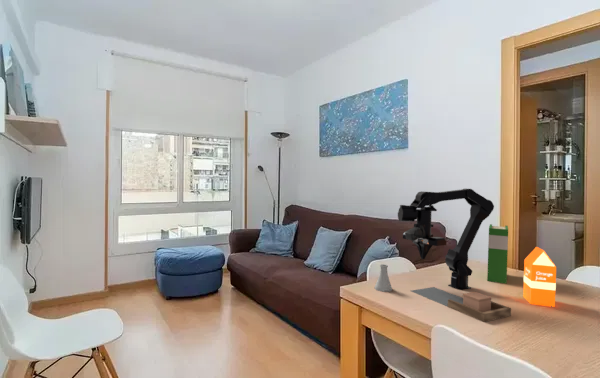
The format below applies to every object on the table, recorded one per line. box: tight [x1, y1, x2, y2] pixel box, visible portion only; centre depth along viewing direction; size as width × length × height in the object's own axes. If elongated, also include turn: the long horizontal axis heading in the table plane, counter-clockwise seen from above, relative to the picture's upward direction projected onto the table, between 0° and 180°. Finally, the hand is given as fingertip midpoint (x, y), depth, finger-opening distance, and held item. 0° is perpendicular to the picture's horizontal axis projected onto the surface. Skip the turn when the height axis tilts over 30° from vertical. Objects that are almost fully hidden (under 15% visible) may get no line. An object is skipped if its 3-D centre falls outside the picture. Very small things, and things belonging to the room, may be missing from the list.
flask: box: [374, 263, 393, 293], centre depth 135 cm, size 7×7×10 cm
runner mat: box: [410, 286, 484, 323], centre depth 121 cm, size 13×32×1 cm, turn 25°
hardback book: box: [486, 223, 509, 285], centre depth 155 cm, size 18×7×24 cm, turn 149°
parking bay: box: [447, 299, 512, 323], centre depth 113 cm, size 13×14×2 cm
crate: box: [462, 291, 493, 312], centre depth 113 cm, size 6×6×5 cm
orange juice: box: [522, 246, 557, 308], centre depth 124 cm, size 8×9×20 cm
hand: (422, 258), depth 138 cm, fingers closed
